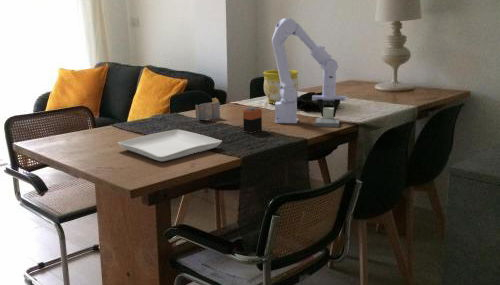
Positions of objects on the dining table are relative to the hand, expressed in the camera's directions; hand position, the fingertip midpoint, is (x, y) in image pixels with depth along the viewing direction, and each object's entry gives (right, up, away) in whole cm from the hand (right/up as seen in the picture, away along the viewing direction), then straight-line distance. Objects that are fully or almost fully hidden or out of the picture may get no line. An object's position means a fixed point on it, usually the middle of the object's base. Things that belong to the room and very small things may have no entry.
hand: (328, 116), depth 226 cm
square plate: (-63, -15, -43) cm, 78 cm away
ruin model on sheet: (-54, -2, +6) cm, 54 cm away
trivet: (-2, -4, -8) cm, 9 cm away
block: (0, -1, 0) cm, 1 cm away
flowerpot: (-18, +9, +44) cm, 48 cm away
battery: (-34, -7, -19) cm, 39 cm away
